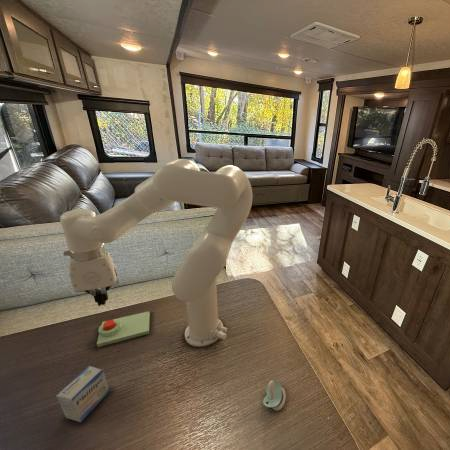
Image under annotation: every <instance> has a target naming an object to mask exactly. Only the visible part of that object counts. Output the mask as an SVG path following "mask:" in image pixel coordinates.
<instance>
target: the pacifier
mask: <svg viewBox="0 0 450 450" xmlns="http://www.w3.org/2000/svg"><path fill="white" fill-rule="evenodd" d="M265 393H266V395H265V396H264V398H263V400H262V405H263V406H264V407H266V408H270V409H273V410H274V411H280V410H281V409H283V408H284V406H285V403H286V400H287V393H286V390H285V388H284V387H283V386H282V385H281V383H280V382H279V381H278V380H276V379H271V380H270V381H268V382H267V383H266V387H265Z"/></svg>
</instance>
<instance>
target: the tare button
mask: <svg viewBox="0 0 450 450" xmlns="http://www.w3.org/2000/svg"><path fill="white" fill-rule="evenodd" d="M105 321H106V322H105ZM105 321H104V322H105V323H104V324H103V326H104V330H106V331H107V330H111V329H113V328H114V327H115V321H114V320H113V319H108V320H105Z"/></svg>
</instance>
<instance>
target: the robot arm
mask: <svg viewBox="0 0 450 450" xmlns="http://www.w3.org/2000/svg"><path fill="white" fill-rule="evenodd" d="M175 202H176V203H182V204H188V205H193V206H194V205H195V206H201V207H208V208H216V211H215V212H214V213H213V216H212V217H211V220H210V221H209V222H208V224H207V225H206V227H205V228H204V230H203V231H202V232H201V233H200V234H199V235H198V237H197V238H196V240H195V242H194V244H193V245H192V246H191V248H190V249H189V251H188V253H187V255H186V256H185V258H184V260H183V262H182V263H181V264H180V267H179V268H178V270H177V272H176V273H175V275H174V276H173V278H172V281H171V291H172V294H173V296H175V297H176V298H177V299H178V300H179V301H181V302H185V305H186V314H187V322H188V325H187V327H186V328H185V331H184V339H185V341H186V343H187V344H188V345H190V346H192V347H199V348H200V347H201V348H202V347H207V346H210V345H212V344H213V343H215V342H217V341H218V340H219V339H220V340H224V341H225V340H226V338H227V335H228V334H227V331H228V328H227V327H225V326H224V324H223V322H222V320H220V319H219V310H218V290H217V280H218V279H217V278H218V276H219V275H220V273H221V272H222V271H223V269H224V266H225V265H226V262H227V261H228V257H229V254H230V251H231V248H232V245H233V242H234V241H235V239H236V238H237V236H238V234H239V233H240V231H241V230H242V228H243V226H244V224H245V223H246V221H247V219H248V217H249V214H250V212H251V210H252V206H253V205H252V204H253V188H252V184H251V182H250V179H249V178H248V176H247V175H246V173H245V172H244V171H243V170H242V169H241V168H240V167H237V166H235V165H224V166H222V167H220V168H219V169H217V170H216V171H215V172H210V171H204V170H201V169H200V168H199V166H198V165H197V163H195V162H194V161H192V160H190V159H188V158H178V159H175V160H172V161H169V162H167V163H165V164H163V165H161V166H159V168H157V169H156V170H155V172H154V174H153V175H151V176H150V177H148V178H146V179H145V180H144V181H143V182H141V183H140V184H138V185H136V186H135V188H134V193H132V194H131V195H130V196H128V197H127V198H125V199H123V200H122V201H121V202H119V203H118V204H116V205H114V206H113V207H111V208H109V209H107V210H106V211H104V212H101V213H100V214H97V213H96V212H95V211H94V210H91V209H87V208H79V209H71V210H68V211H65V212H63V213H62V214H61V215H60V217H59V221H60V225H61V229H62V231H63V235H64V238H65V241H66V244H67V247H68V249H67V250H63V254H62V255H63V256H64V257H65V256H68V257H70V258H69V259H68V273H69V278H70V284H71V287H72V289H73V291H74V292H75V293H84V292H85V293H87V294H90V296H92V297H93V299H94V303H97V306H98V307H99V306H104V305H106V303H107V301H108V300H109V295H108V291H109V290H110V289H111V288H112V287H115V286H118V285H119V284H120V279H119V277H118V272H117V268H116V265H115V262H114V260H113V258H112V256H111V255H110V253H109V251H107V250H106V248H105V244H110V243H114V241H116V240H118V239H119V238H121V237H122V236H123V235H125V233H127V232H128V231H130V230H131V229H132V228H133V227H135V226H136V225H138V224H139V223H140V222H142V221H144V220H145V219H146V218H148V217H150V216H151V215H152V214H154V213H160V212H162V211H164V210H165V209H167V208H168V207H170V206H171V205H172V204H174V203H175Z"/></svg>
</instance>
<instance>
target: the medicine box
mask: <svg viewBox="0 0 450 450" xmlns="http://www.w3.org/2000/svg"><path fill="white" fill-rule="evenodd" d="M109 392H110V388H109V385H108V381H107V379H106V375H105V372H104V370H103V369H101V368H97V367H94V366H91V365H88V366H87V367H86V368H85V369H84V370H83V371H81V372H80V373H79V374H78V375H77V376H76V377H75V378H73V380H71V381H70V382H69V383H68V384H67V385H66V386H65V387H63V389H62V390H61V391H59V392H58V393H57V394H55V398H56V399H57V402H58V404H59V407H60V408H61V410H62V412H63V414H64V417H65V418H66V419H68V420H72V421H74V422H78V423H82V422H83V421H84V420H85V419H86V418H87V417H88V415H89V414H90V413H91V412H92V411H93V410H94V409H95V408H96V407H97V406H98V404H99V403H100V402H101V401H102V400H104V398H105V397H106V396H107V395H108V394H109Z"/></svg>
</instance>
